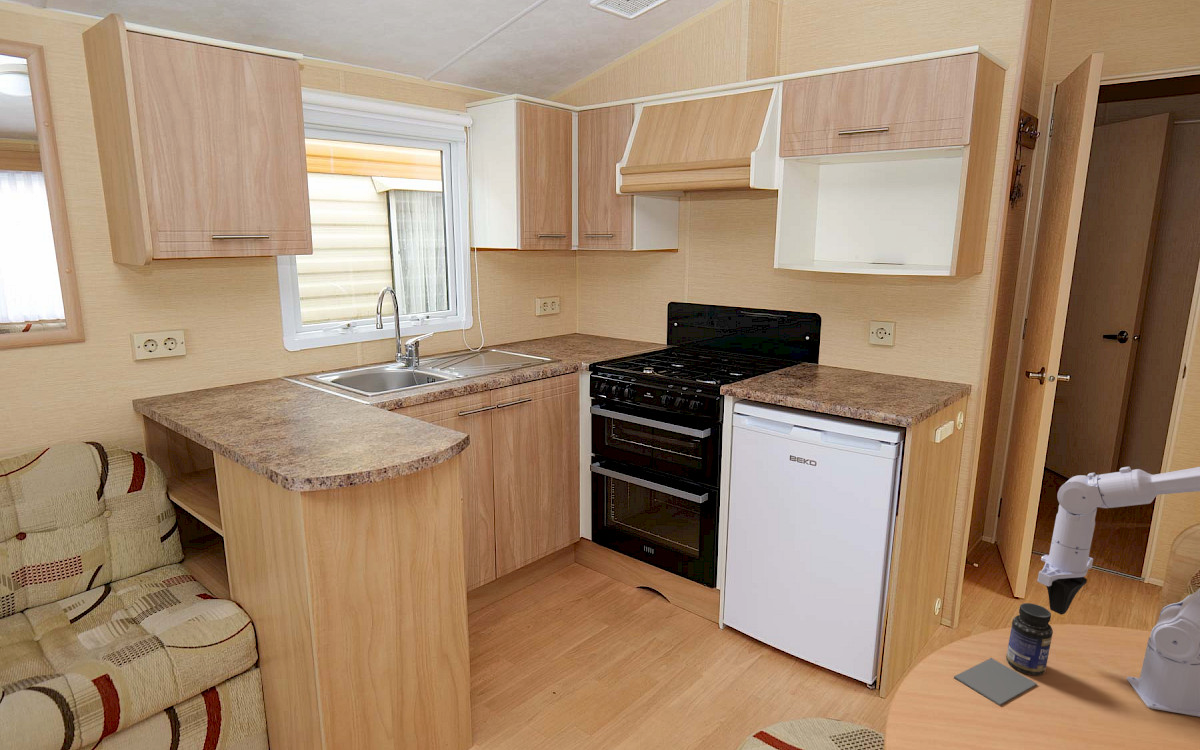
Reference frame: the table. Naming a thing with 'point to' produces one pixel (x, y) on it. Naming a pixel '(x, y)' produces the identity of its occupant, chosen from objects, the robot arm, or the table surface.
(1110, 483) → the robot arm
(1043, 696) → the table surface
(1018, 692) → the rubber mat
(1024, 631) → the pill bottle
